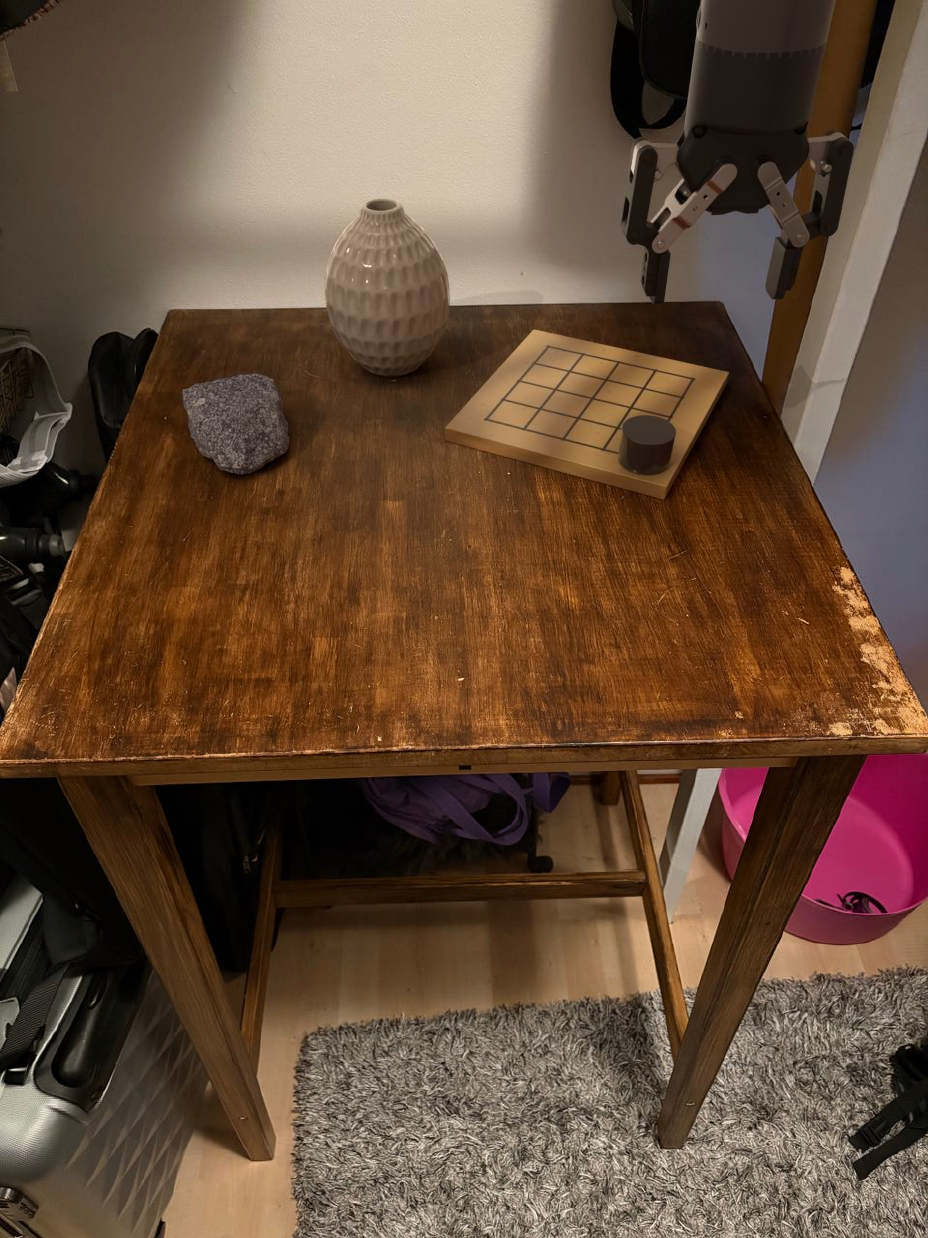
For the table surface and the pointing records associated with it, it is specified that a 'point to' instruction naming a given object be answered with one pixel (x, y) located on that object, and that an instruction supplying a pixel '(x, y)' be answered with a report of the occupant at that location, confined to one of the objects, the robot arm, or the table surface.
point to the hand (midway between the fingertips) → (715, 297)
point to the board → (586, 408)
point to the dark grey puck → (646, 444)
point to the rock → (237, 422)
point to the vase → (387, 290)
